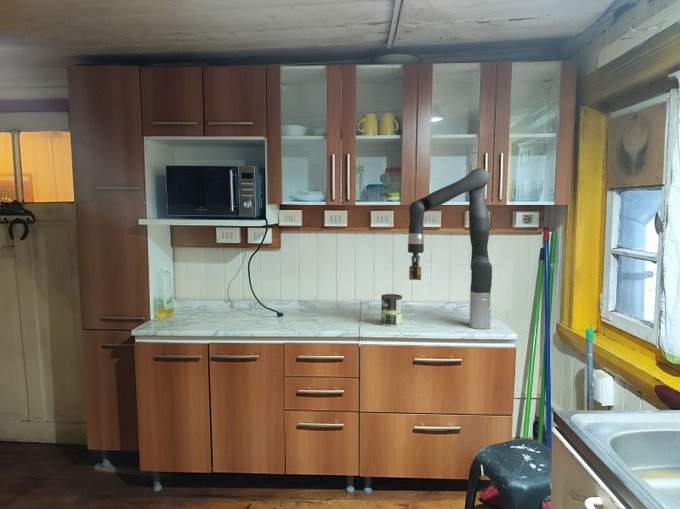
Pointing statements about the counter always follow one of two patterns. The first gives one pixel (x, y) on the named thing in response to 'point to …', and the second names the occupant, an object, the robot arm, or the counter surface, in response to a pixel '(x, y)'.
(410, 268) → the walnut block
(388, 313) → the coffee can
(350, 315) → the counter surface
